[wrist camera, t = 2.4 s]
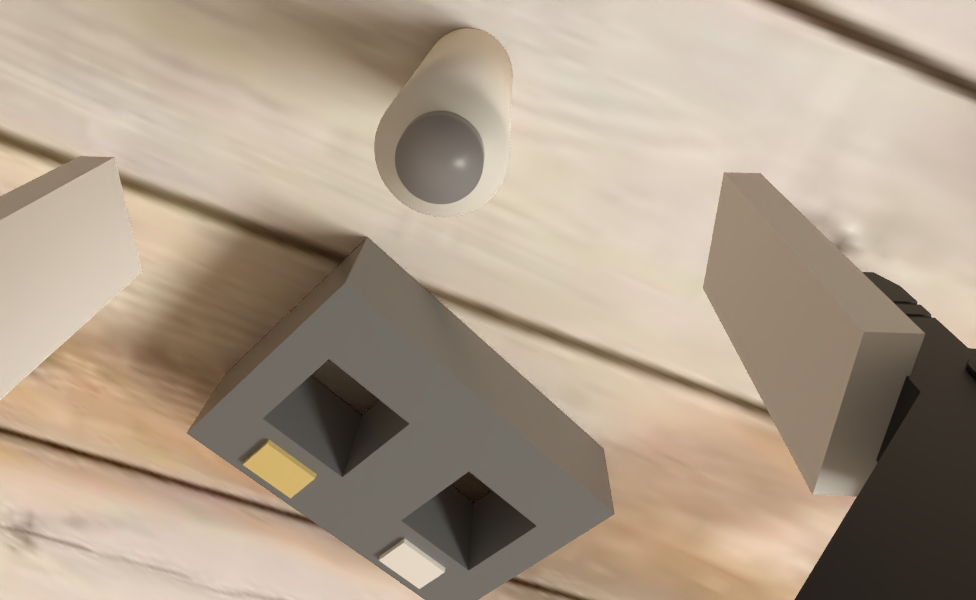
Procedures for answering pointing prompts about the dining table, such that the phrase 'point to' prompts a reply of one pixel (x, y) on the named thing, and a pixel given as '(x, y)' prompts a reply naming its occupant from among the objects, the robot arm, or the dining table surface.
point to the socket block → (407, 436)
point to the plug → (449, 127)
